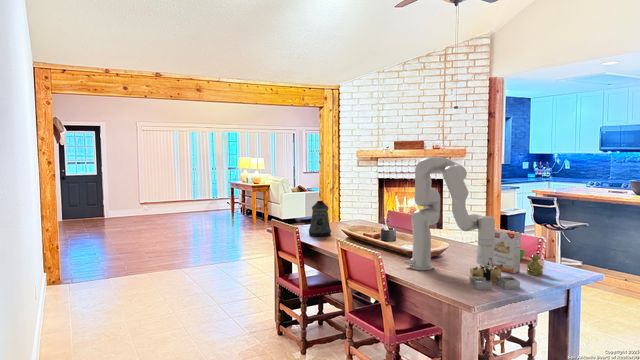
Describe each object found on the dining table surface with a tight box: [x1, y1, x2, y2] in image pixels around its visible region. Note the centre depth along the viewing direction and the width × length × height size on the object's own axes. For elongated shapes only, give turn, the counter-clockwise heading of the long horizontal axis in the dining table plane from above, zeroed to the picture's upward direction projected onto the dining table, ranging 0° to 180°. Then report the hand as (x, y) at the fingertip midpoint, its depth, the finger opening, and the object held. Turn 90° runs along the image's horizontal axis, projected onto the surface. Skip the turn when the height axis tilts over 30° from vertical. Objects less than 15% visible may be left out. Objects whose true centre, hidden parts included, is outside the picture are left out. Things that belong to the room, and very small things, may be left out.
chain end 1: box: [468, 276, 493, 291], centre depth 213 cm, size 7×9×4 cm
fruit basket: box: [520, 242, 526, 260], centre depth 264 cm, size 11×9×11 cm
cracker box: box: [492, 228, 522, 274], centre depth 240 cm, size 14×6×21 cm, turn 33°
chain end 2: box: [495, 275, 521, 290], centre depth 214 cm, size 7×9×4 cm
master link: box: [469, 266, 502, 283], centre depth 222 cm, size 14×3×7 cm, turn 93°
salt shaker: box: [526, 253, 544, 277], centre depth 233 cm, size 7×7×10 cm
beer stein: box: [308, 200, 332, 238], centre depth 338 cm, size 16×19×25 cm
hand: (485, 279), depth 222 cm, fingers closed on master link, 3 cm apart
